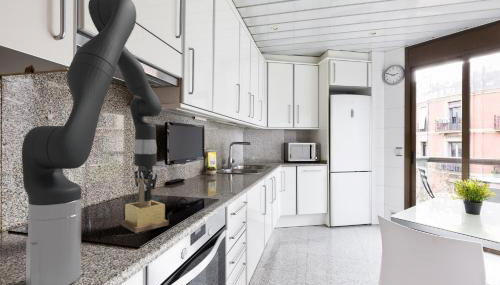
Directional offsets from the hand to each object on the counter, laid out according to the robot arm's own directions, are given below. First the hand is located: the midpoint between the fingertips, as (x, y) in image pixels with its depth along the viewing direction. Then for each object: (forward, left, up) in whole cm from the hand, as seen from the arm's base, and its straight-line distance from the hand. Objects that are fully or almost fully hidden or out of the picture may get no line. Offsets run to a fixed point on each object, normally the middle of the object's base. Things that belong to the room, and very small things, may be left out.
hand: (145, 199), depth 96 cm
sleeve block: (0, 0, -9) cm, 9 cm away
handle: (0, 0, -7) cm, 7 cm away
